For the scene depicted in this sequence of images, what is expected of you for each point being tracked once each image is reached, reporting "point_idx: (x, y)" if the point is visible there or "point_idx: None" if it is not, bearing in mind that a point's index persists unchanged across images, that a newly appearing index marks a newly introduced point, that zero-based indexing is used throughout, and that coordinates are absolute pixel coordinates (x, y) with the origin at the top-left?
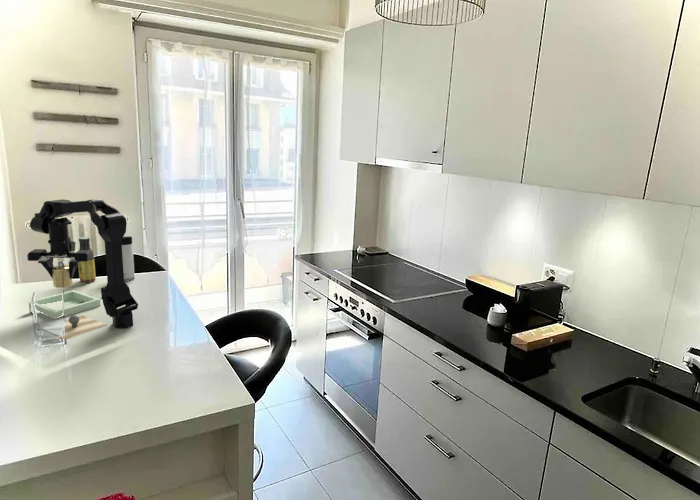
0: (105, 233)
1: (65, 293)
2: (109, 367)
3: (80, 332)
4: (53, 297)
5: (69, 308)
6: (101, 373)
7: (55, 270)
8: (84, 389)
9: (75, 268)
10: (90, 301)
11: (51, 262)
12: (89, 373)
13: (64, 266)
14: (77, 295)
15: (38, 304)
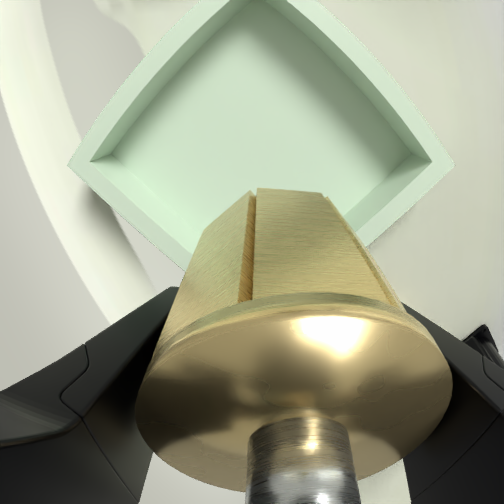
0: None
1: (219, 9)
2: (401, 469)
3: None
4: (162, 68)
5: None
6: (388, 478)
7: (238, 481)
8: (363, 495)
9: (484, 371)
10: (413, 195)
11: (85, 487)
12: (372, 479)
13: (350, 452)
14: (296, 14)
15: (129, 207)
